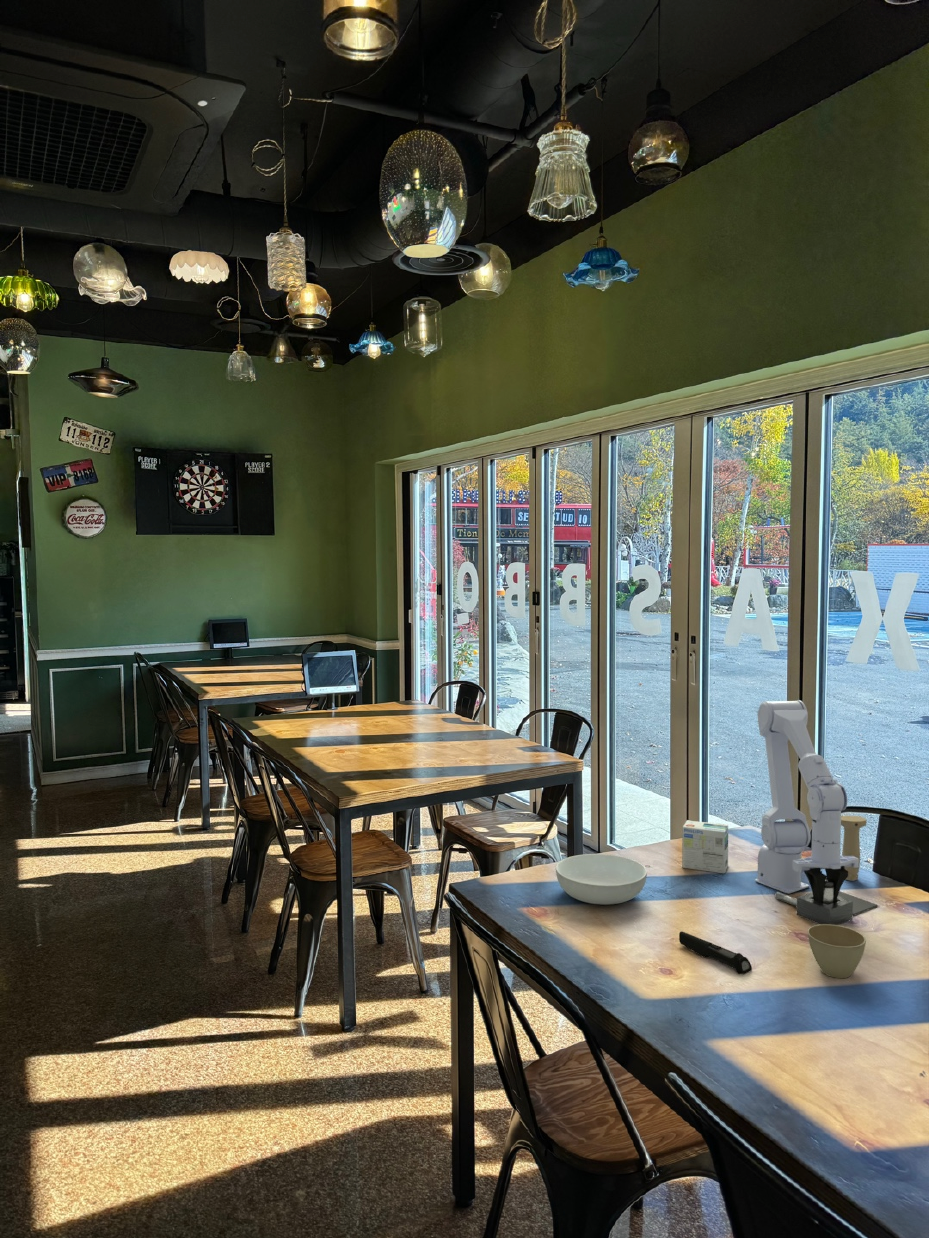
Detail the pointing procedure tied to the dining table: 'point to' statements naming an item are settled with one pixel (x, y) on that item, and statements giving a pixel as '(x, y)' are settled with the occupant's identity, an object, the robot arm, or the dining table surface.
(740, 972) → the electric trimmer
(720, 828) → the light bulb box
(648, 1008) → the dining table surface
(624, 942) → the dining table surface
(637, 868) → the serving bowl
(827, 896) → the spice shaker
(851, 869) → the handle
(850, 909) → the grey hollow block
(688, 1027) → the dining table surface
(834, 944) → the flower pot
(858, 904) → the mat
